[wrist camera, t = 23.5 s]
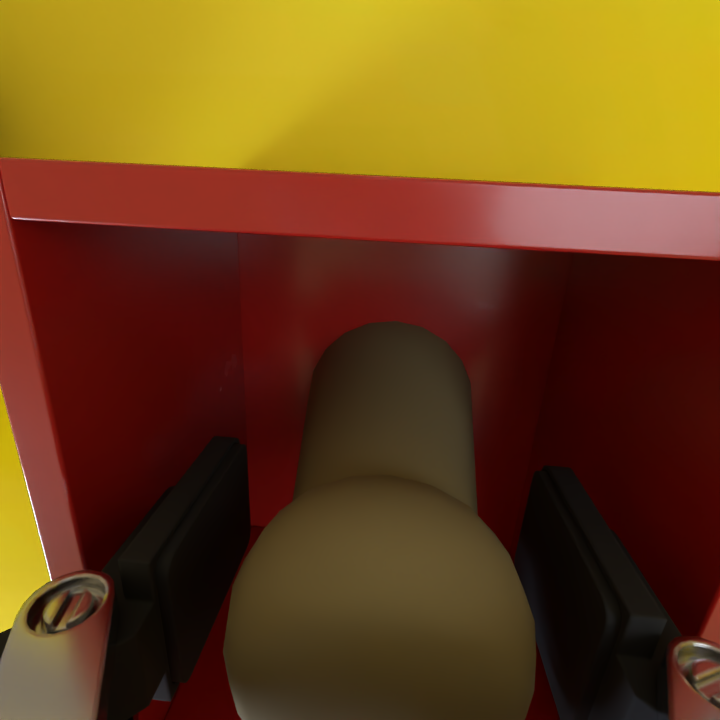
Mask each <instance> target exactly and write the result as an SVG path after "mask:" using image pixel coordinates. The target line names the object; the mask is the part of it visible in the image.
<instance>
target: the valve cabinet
mask: <svg viewBox="0 0 720 720" xmlns="http://www.w3.org/2000/svg"><path fill="white" fill-rule="evenodd" d="M389 321H399V322H403V323H407V324H411V325H415V326H420V327H423V328H425V329H427V330H428V331H430V332H431V333H433V334H435V335H436V336H438V337H440V338H441V339H443V340H445V341H446V342H447V343H448V345H449V346H450V347H451V348H452V349H453V350H454V352H455V353H456V354H457V355H458V356H459V357H460V359H461V360H462V362H463V364H464V367H465V370H466V372H467V375H468V378H469V380H470V383H471V400H472V418H473V437H474V455H475V474H476V492H477V511H478V516H479V517H480V518H481V519H482V520H483V522H484V523H485V524H486V525H487V526H488V527H489V528H490V529H491V530H492V531H493V532H494V533H495V535H496V536H497V538H498V539H499V540H500V542H501V543H502V545H503V546H504V548H505V549H506V550H507V552H508V553H509V555H510V556H511V559H512V561H513V564H514V558H515V553H516V549H517V544H518V540H519V535H520V531H521V527H522V522H523V518H524V513H525V509H526V504H527V500H528V495H529V491H530V486H531V482H532V478H533V474H534V472H535V471H541V469H542V468H543V466H545V465H549V466H560V467H569V468H571V469H572V470H573V472H574V473H575V475H576V476H577V478H578V479H579V481H580V483H581V484H582V486H583V487H584V489H585V491H586V492H587V494H588V495H589V497H590V498H591V500H592V502H593V503H594V505H595V506H596V508H597V509H598V511H599V513H600V514H601V516H602V517H603V519H604V521H605V522H606V524H607V525H608V527H609V528H610V529H611V530H613V531H614V532H615V533H616V534H617V536H618V537H619V538H620V540H621V542H622V543H623V545H624V546H625V548H626V549H627V551H628V552H629V554H630V556H631V557H632V559H633V560H634V562H635V563H636V565H637V566H638V568H639V570H640V571H641V573H642V574H643V576H644V577H645V579H646V580H647V582H648V583H649V585H650V587H651V588H652V590H653V591H654V593H655V594H656V596H657V597H658V599H659V601H660V602H661V604H662V605H663V607H664V608H665V610H666V611H667V613H668V615H669V616H670V618H671V619H672V621H673V622H674V624H675V625H676V627H677V628H678V630H679V632H680V633H681V635H682V636H684V635H687V636H697V637H701V638H704V639H707V640H710V641H713V642H716V643H717V644H719V645H720V192H704V191H684V190H664V189H643V188H623V187H603V186H583V185H562V184H542V183H522V182H501V181H481V180H461V179H440V178H420V177H400V176H380V175H359V174H339V173H319V172H298V171H278V170H258V169H238V168H217V167H197V166H177V165H156V164H136V163H116V162H95V161H75V160H55V159H35V158H14V157H0V386H1V390H2V394H3V397H4V401H5V405H6V409H7V413H8V417H9V421H10V424H11V428H12V432H13V436H14V440H15V444H16V448H17V451H18V455H19V459H20V463H21V467H22V471H23V475H24V478H25V482H26V486H27V490H28V494H29V498H30V502H31V506H32V509H33V513H34V517H35V521H36V525H37V529H38V533H39V536H40V540H41V544H42V548H43V552H44V556H45V560H46V563H47V567H48V571H49V575H50V579H51V581H52V580H54V579H56V578H58V577H60V576H62V575H65V574H68V573H71V572H74V571H80V570H88V569H91V570H99V571H102V569H103V568H104V567H105V565H106V564H107V563H108V562H109V560H110V559H111V558H112V557H113V555H114V554H115V553H116V552H117V550H118V549H119V548H120V547H121V545H122V544H123V543H124V542H125V540H126V539H127V538H128V537H129V535H130V534H131V533H132V532H133V530H134V529H135V528H136V527H137V525H138V524H139V523H140V522H141V520H142V519H143V518H144V517H145V515H146V514H147V513H148V512H149V510H150V509H151V508H152V507H153V505H154V504H155V503H156V502H157V500H158V499H159V498H160V497H161V495H162V494H163V493H164V492H165V491H166V490H167V489H168V488H169V487H172V486H175V485H176V484H177V483H178V481H179V480H180V479H181V478H182V476H183V475H184V474H185V472H186V471H187V470H188V469H189V467H190V466H191V465H192V463H193V462H194V461H195V460H196V458H197V457H198V456H199V454H200V453H201V452H202V451H203V449H204V448H205V447H206V445H207V444H208V443H209V442H210V440H211V439H212V438H213V437H214V436H223V437H234V438H238V439H239V442H240V444H245V445H246V449H247V467H248V487H249V507H250V527H251V533H250V540H249V544H248V546H247V549H246V551H245V553H244V556H243V558H242V560H241V563H240V565H239V567H238V569H237V572H236V574H235V576H234V579H233V581H232V583H231V585H230V588H229V590H228V592H227V595H226V597H225V599H224V602H223V604H222V606H221V608H220V611H219V613H218V615H217V618H216V620H215V622H214V624H213V627H212V629H211V631H210V634H209V636H208V638H207V640H206V643H205V645H204V647H203V650H202V652H201V654H200V656H199V659H198V661H197V663H196V666H195V668H194V670H193V673H192V675H191V677H190V679H189V680H188V681H187V682H186V683H179V685H178V687H177V689H176V692H175V694H174V696H173V698H172V700H171V702H169V701H161V700H153V699H152V701H151V703H150V705H149V706H148V707H146V708H145V709H143V710H142V711H140V712H139V717H138V720H242V719H241V718H240V716H239V715H238V713H237V710H236V706H235V703H234V699H233V696H232V692H231V689H230V685H229V681H228V675H227V670H226V665H225V660H224V655H223V647H224V640H225V633H226V626H227V619H228V612H229V606H230V599H231V593H232V586H233V584H234V581H235V579H236V577H237V575H238V573H239V570H240V568H241V566H242V564H243V562H244V559H245V558H246V556H247V555H248V553H249V551H250V550H251V548H252V547H253V545H254V544H255V542H256V541H257V539H258V538H259V536H260V535H261V533H262V531H263V530H264V528H265V527H266V526H267V525H268V524H269V523H270V522H271V520H272V519H273V518H274V517H275V516H276V515H277V513H278V512H279V511H280V510H281V509H283V508H284V507H286V506H287V505H288V504H290V503H291V502H292V500H293V494H294V488H295V481H296V475H297V468H298V462H299V455H300V449H301V442H302V436H303V429H304V423H305V417H306V410H307V404H308V397H309V391H310V386H311V381H312V376H313V371H314V368H315V366H316V365H317V363H318V361H319V360H320V358H321V356H322V355H323V353H324V351H325V350H326V348H328V347H329V346H330V345H331V344H332V343H333V342H335V341H336V340H337V339H338V338H339V337H341V336H342V335H343V334H344V333H346V332H348V331H351V330H353V329H356V328H358V327H361V326H363V325H366V324H368V323H376V322H389ZM525 720H560V717H559V714H558V711H557V708H556V704H555V701H554V698H553V695H552V691H551V688H550V685H549V682H548V678H547V675H546V672H545V669H544V665H543V662H542V659H541V656H540V652H539V649H538V646H537V643H536V669H535V688H534V693H533V697H532V700H531V703H530V706H529V709H528V712H527V715H526V718H525Z"/></svg>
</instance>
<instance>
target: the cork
mask: <svg viewBox="0 0 720 720" xmlns="http://www.w3.org/2000/svg"><path fill="white" fill-rule="evenodd" d="M223 655H224V660H225V665H226V670H227V675H228V681H229V685H230V689H231V692H232V696H233V699H234V703H235V706H236V710H237V713H238V715H239V716H240V718H241V719H242V720H525V718H526V715H527V712H528V709H529V706H530V703H531V700H532V697H533V693H534V688H535V669H536V639H535V621H534V618H533V615H532V612H531V609H530V606H529V603H528V600H527V597H526V594H525V591H524V589H523V586H522V584H521V581H520V579H519V576H518V574H517V571H516V569H515V566H514V564H513V561H512V559H511V556H510V555H509V553H508V552H507V550H506V549H505V548H504V546H503V545H502V543H501V542H500V540H499V539H498V538H497V536H496V535H495V533H494V532H493V531H492V530H491V529H490V528H489V527H488V526H487V525H486V524H485V523H484V522H483V520H482V519H481V518H480V517H479V516H478V511H477V492H476V474H475V455H474V437H473V418H472V400H471V383H470V380H469V378H468V375H467V372H466V370H465V367H464V364H463V362H462V360H461V359H460V357H459V356H458V355H457V354H456V353H455V352H454V350H453V349H452V348H451V347H450V346H449V345H448V343H447V342H446V341H445V340H443V339H441V338H440V337H438V336H436V335H435V334H433V333H431V332H430V331H428V330H427V329H425V328H423V327H420V326H415V325H411V324H407V323H403V322H399V321H389V322H376V323H368V324H366V325H363V326H361V327H358V328H356V329H353V330H351V331H348V332H346V333H344V334H343V335H342V336H341V337H339V338H338V339H337V340H336V341H335V342H333V343H332V344H331V345H330V346H329V347H328V348H326V350H325V351H324V353H323V355H322V356H321V358H320V360H319V361H318V363H317V365H316V366H315V368H314V371H313V376H312V381H311V386H310V391H309V397H308V404H307V410H306V417H305V423H304V429H303V436H302V442H301V449H300V455H299V462H298V468H297V475H296V481H295V488H294V494H293V500H292V502H291V503H290V504H288V505H287V506H286V507H284V508H283V509H281V510H280V511H279V512H278V513H277V515H276V516H275V517H274V518H273V519H272V520H271V522H270V523H269V524H268V525H267V526H266V527H265V528H264V530H263V531H262V533H261V535H260V536H259V538H258V539H257V541H256V542H255V544H254V545H253V547H252V548H251V550H250V551H249V553H248V555H247V556H246V558H245V559H244V562H243V564H242V566H241V568H240V570H239V573H238V575H237V577H236V579H235V581H234V584H233V586H232V593H231V599H230V606H229V612H228V619H227V626H226V633H225V640H224V647H223Z"/></svg>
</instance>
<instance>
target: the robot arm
mask: <svg viewBox="0 0 720 720" xmlns="http://www.w3.org/2000/svg"><path fill="white" fill-rule="evenodd" d="M250 533H251V527H250V507H249V487H248V467H247V449H246V445H245V444H240V442H239V439H238V438H234V437H223V436H214V437H213V438H212V439H211V440H210V442H209V443H208V444H207V445H206V447H205V448H204V449H203V451H202V452H201V453H200V454H199V456H198V457H197V458H196V460H195V461H194V462H193V463H192V465H191V466H190V467H189V469H188V470H187V471H186V472H185V474H184V475H183V476H182V478H181V479H180V480H179V481H178V483H177V484H176V485H175V486H172V487H169V488H168V489H167V490H166V491H165V492H164V493H163V494H162V495H161V497H160V498H159V499H158V500H157V502H156V503H155V504H154V505H153V507H152V508H151V509H150V510H149V512H148V513H147V514H146V515H145V517H144V518H143V519H142V520H141V522H140V523H139V524H138V525H137V527H136V528H135V529H134V530H133V532H132V533H131V534H130V535H129V537H128V538H127V539H126V540H125V542H124V543H123V544H122V545H121V547H120V548H119V549H118V550H117V552H116V553H115V554H114V555H113V557H112V558H111V559H110V560H109V562H108V563H107V564H106V565H105V567H104V568H103V569H102V571H99V570H91V569H88V570H80V571H74V572H71V573H68V574H65V575H62V576H60V577H58V578H56V579H54V580H52V581H50V582H48V583H46V584H45V585H43V586H42V587H41V588H39V589H38V590H37V591H35V592H34V593H33V594H32V595H31V596H30V597H29V598H28V599H27V600H26V601H25V602H24V603H23V605H22V607H21V609H20V610H19V612H18V614H17V616H16V618H15V621H14V624H13V627H12V628H10V629H8V630H6V631H4V632H2V633H0V720H138V717H139V712H140V711H142V710H143V709H145V708H146V707H148V706H149V705H150V703H151V701H152V699H153V700H161V701H169V702H171V700H172V698H173V696H174V694H175V692H176V689H177V687H178V685H179V683H186V682H187V681H188V680H189V679H190V677H191V675H192V673H193V670H194V668H195V666H196V663H197V661H198V659H199V656H200V654H201V652H202V650H203V647H204V645H205V643H206V640H207V638H208V636H209V634H210V631H211V629H212V627H213V624H214V622H215V620H216V618H217V615H218V613H219V611H220V608H221V606H222V604H223V602H224V599H225V597H226V595H227V592H228V590H229V588H230V585H231V583H232V581H233V579H234V576H235V574H236V572H237V569H238V567H239V565H240V563H241V560H242V558H243V556H244V553H245V551H246V549H247V546H248V544H249V540H250ZM514 566H515V569H516V571H517V574H518V576H519V579H520V581H521V584H522V586H523V589H524V591H525V594H526V597H527V600H528V603H529V606H530V609H531V612H532V615H533V618H534V621H535V639H536V643H537V646H538V649H539V652H540V656H541V659H542V662H543V665H544V669H545V672H546V675H547V678H548V682H549V685H550V688H551V691H552V695H553V698H554V701H555V704H556V708H557V711H558V714H559V717H560V720H720V645H719V644H717V643H716V642H713V641H710V640H707V639H704V638H701V637H697V636H687V635H684V636H682V635H681V633H680V632H679V630H678V628H677V627H676V625H675V624H674V622H673V621H672V619H671V618H670V616H669V615H668V613H667V611H666V610H665V608H664V607H663V605H662V604H661V602H660V601H659V599H658V597H657V596H656V594H655V593H654V591H653V590H652V588H651V587H650V585H649V583H648V582H647V580H646V579H645V577H644V576H643V574H642V573H641V571H640V570H639V568H638V566H637V565H636V563H635V562H634V560H633V559H632V557H631V556H630V554H629V552H628V551H627V549H626V548H625V546H624V545H623V543H622V542H621V540H620V538H619V537H618V536H617V534H616V533H615V532H614V531H613V530H611V529H610V528H609V527H608V525H607V524H606V522H605V521H604V519H603V517H602V516H601V514H600V513H599V511H598V509H597V508H596V506H595V505H594V503H593V502H592V500H591V498H590V497H589V495H588V494H587V492H586V491H585V489H584V487H583V486H582V484H581V483H580V481H579V479H578V478H577V476H576V475H575V473H574V472H573V470H572V469H571V468H569V467H560V466H549V465H545V466H543V468H542V469H541V471H535V472H534V474H533V478H532V482H531V486H530V491H529V495H528V500H527V504H526V509H525V513H524V518H523V522H522V527H521V531H520V535H519V540H518V544H517V549H516V553H515V558H514Z"/></svg>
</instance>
